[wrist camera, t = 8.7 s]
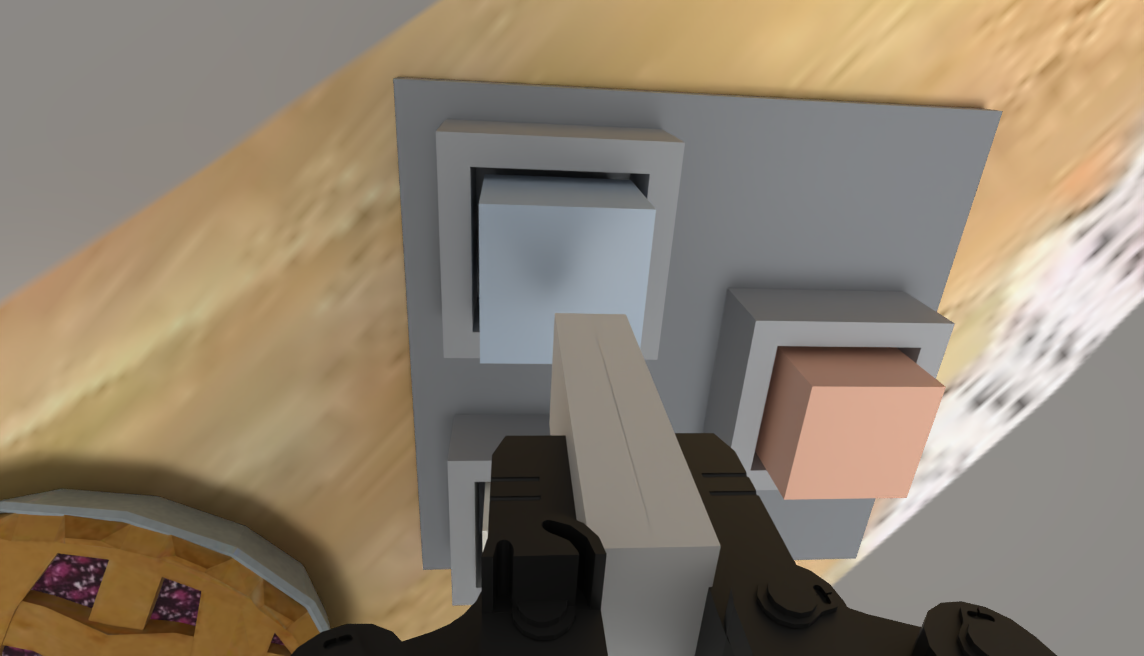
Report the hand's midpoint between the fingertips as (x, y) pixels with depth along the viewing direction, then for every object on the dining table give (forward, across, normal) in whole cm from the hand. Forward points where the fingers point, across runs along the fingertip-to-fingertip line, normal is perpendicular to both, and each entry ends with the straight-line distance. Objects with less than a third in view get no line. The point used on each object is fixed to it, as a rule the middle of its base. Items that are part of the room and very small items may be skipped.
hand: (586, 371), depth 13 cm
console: (+12, +5, -6) cm, 14 cm away
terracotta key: (+10, +11, -6) cm, 16 cm away
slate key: (+9, 0, 0) cm, 9 cm away
